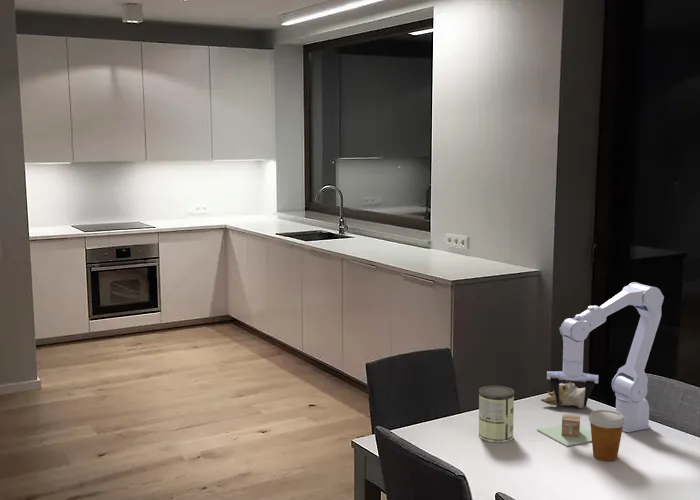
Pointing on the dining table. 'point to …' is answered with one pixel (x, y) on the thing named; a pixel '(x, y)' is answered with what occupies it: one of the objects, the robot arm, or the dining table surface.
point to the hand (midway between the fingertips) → (571, 404)
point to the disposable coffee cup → (606, 433)
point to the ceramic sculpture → (567, 395)
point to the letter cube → (570, 425)
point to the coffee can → (496, 413)
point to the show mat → (556, 434)
